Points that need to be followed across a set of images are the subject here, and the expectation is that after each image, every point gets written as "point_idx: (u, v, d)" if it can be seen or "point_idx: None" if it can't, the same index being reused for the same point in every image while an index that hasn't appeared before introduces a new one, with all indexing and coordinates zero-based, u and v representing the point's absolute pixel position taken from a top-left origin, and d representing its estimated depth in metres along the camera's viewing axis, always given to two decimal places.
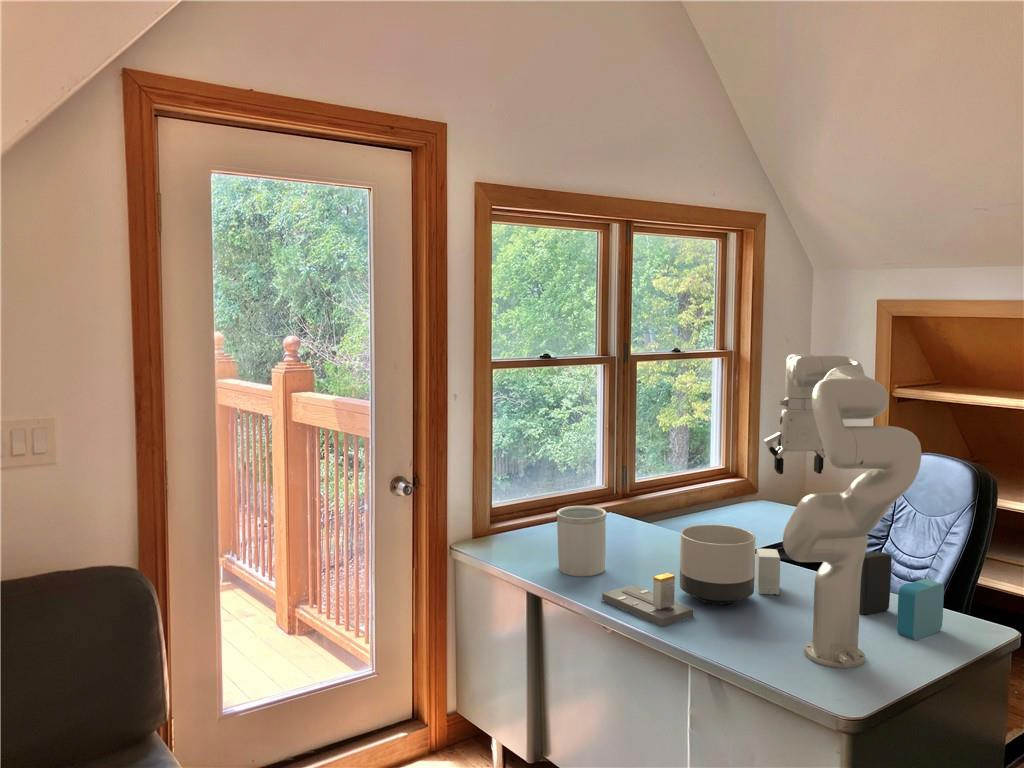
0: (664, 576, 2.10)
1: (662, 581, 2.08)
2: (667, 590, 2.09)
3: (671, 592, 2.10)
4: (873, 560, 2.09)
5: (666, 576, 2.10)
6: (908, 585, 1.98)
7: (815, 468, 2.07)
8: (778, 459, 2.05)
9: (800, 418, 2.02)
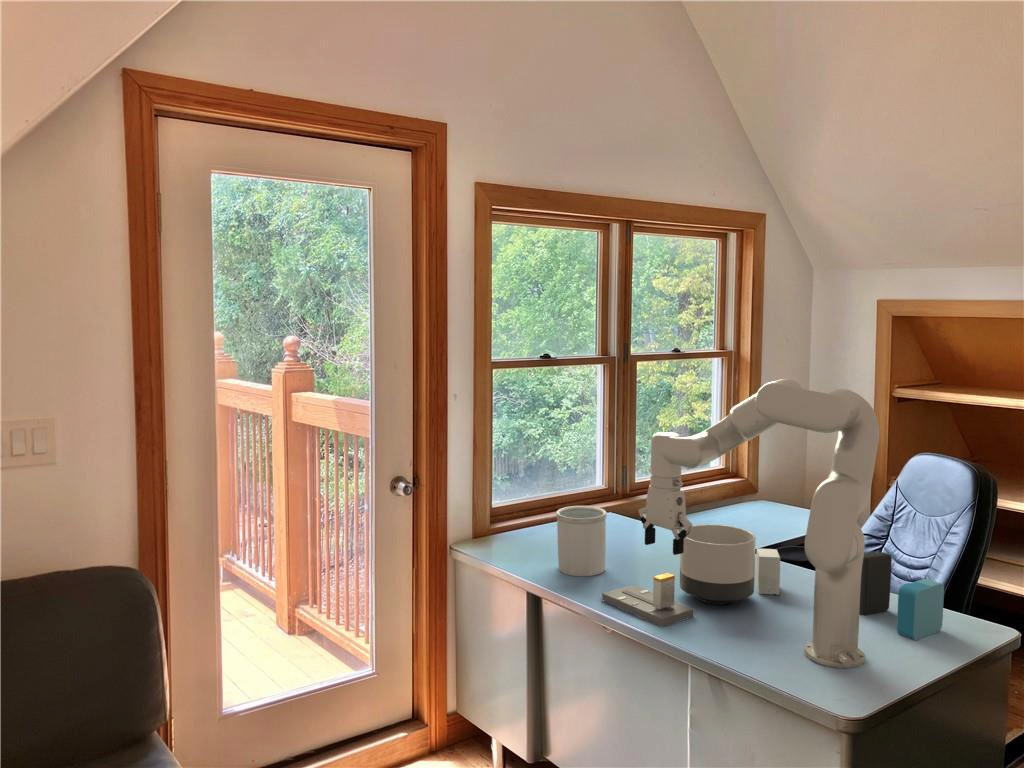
0: (664, 576, 2.10)
1: (662, 581, 2.08)
2: (667, 590, 2.09)
3: (671, 592, 2.10)
4: (873, 560, 2.09)
5: (666, 576, 2.10)
6: (908, 585, 1.98)
7: (649, 541, 2.13)
8: None
9: None
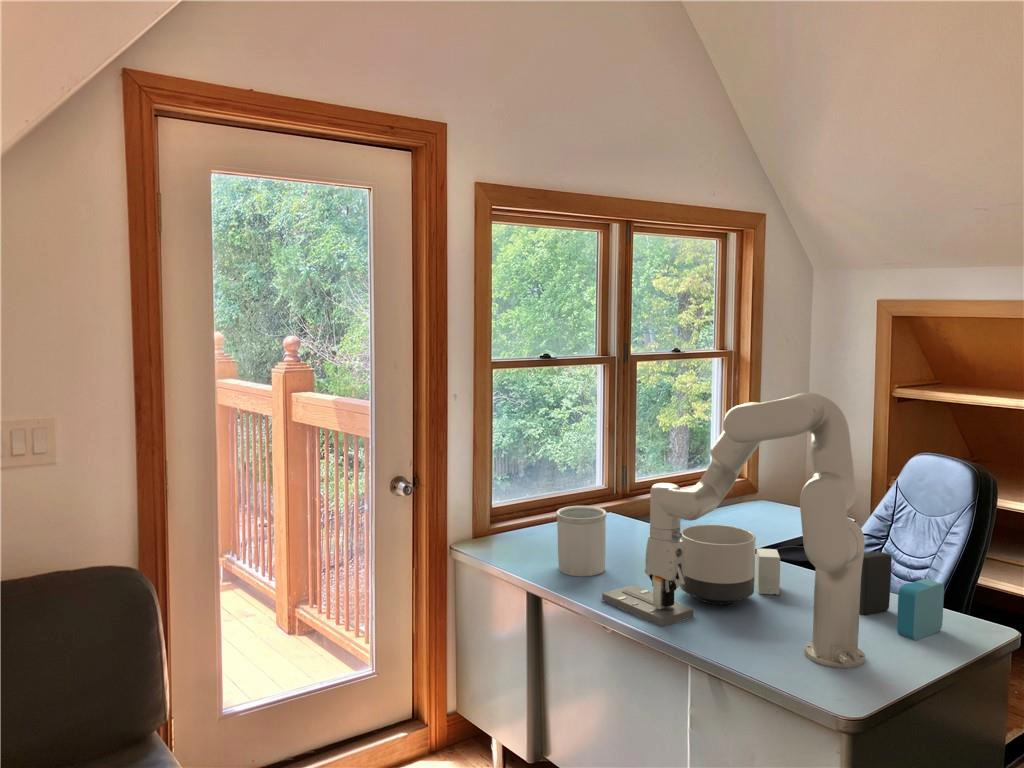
0: None
1: (662, 581, 2.08)
2: None
3: None
4: (873, 560, 2.09)
5: None
6: (908, 585, 1.98)
7: None
8: None
9: None
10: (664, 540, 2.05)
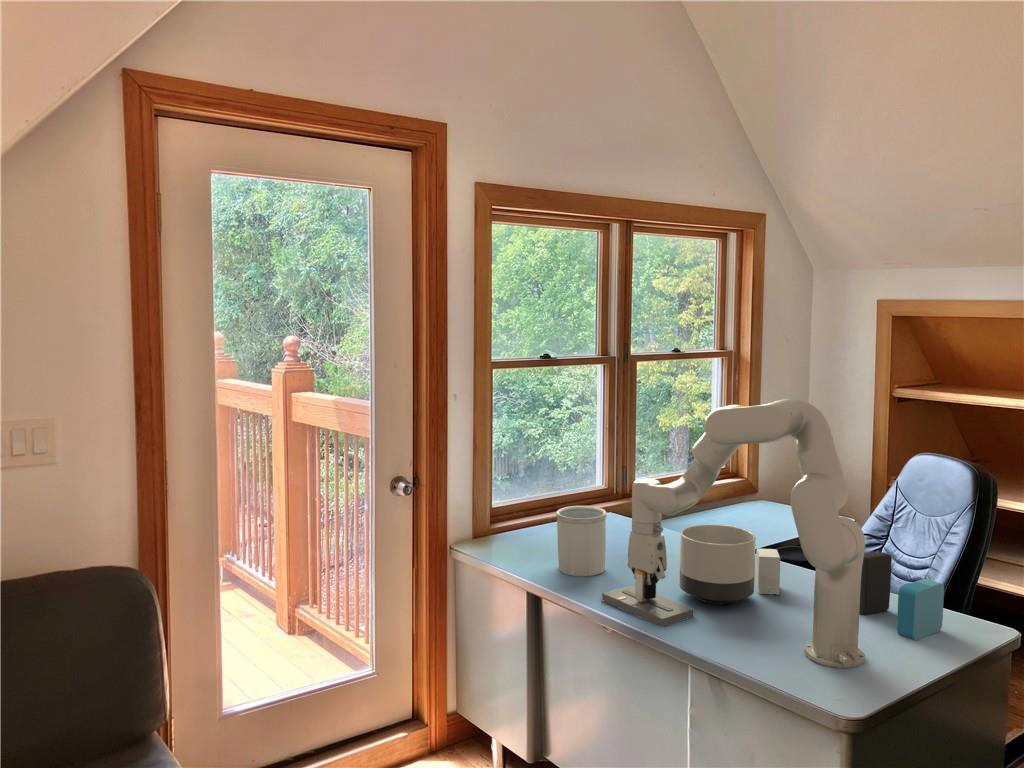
0: None
1: (644, 574, 2.13)
2: None
3: None
4: (873, 560, 2.09)
5: None
6: (908, 585, 1.98)
7: None
8: None
9: None
10: (645, 534, 2.11)
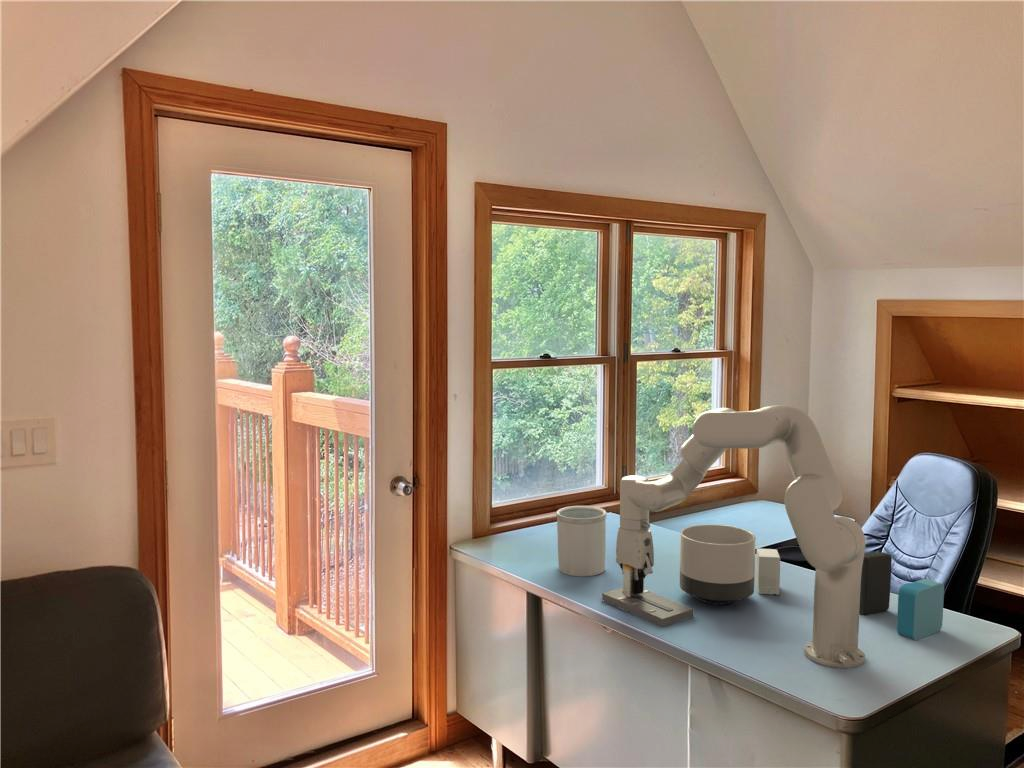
0: None
1: (631, 569, 2.17)
2: None
3: None
4: (873, 560, 2.09)
5: None
6: (908, 585, 1.98)
7: None
8: None
9: None
10: (633, 530, 2.14)
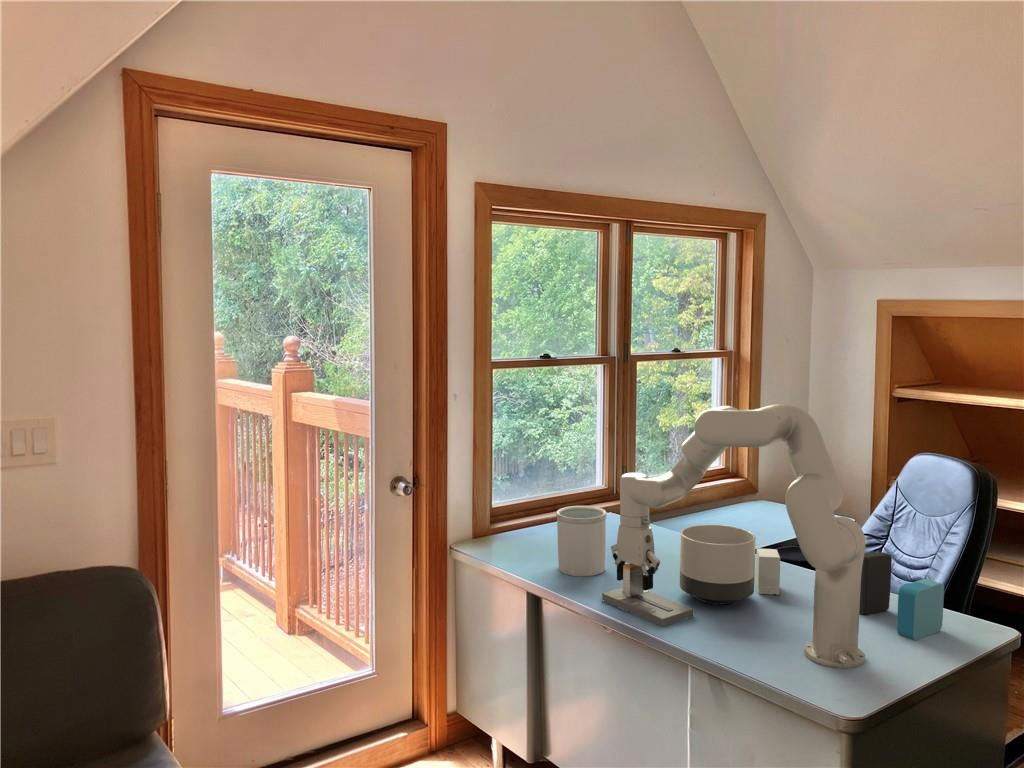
0: (633, 565, 2.19)
1: (631, 569, 2.17)
2: (636, 578, 2.18)
3: (640, 580, 2.19)
4: (873, 560, 2.09)
5: (635, 565, 2.19)
6: (908, 585, 1.98)
7: (621, 576, 2.22)
8: None
9: None
10: (633, 527, 2.14)
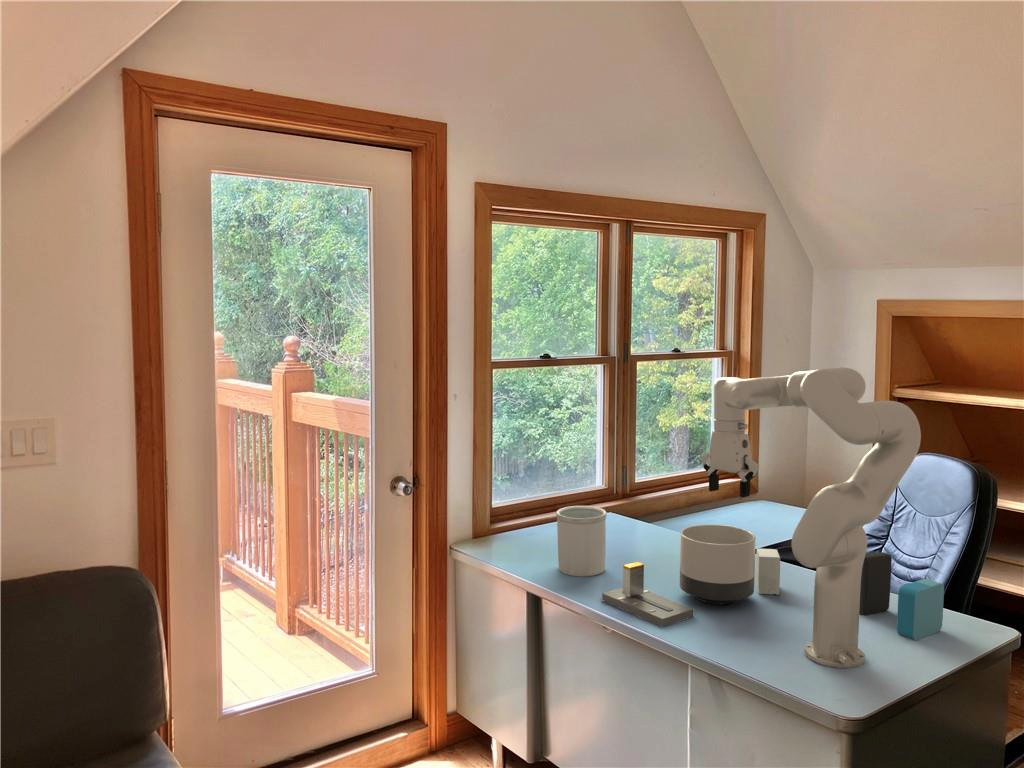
0: (633, 565, 2.19)
1: (631, 569, 2.17)
2: (636, 578, 2.18)
3: (640, 580, 2.19)
4: (873, 560, 2.09)
5: (635, 565, 2.19)
6: (908, 585, 1.98)
7: (713, 487, 2.14)
8: None
9: None
10: (730, 432, 2.06)
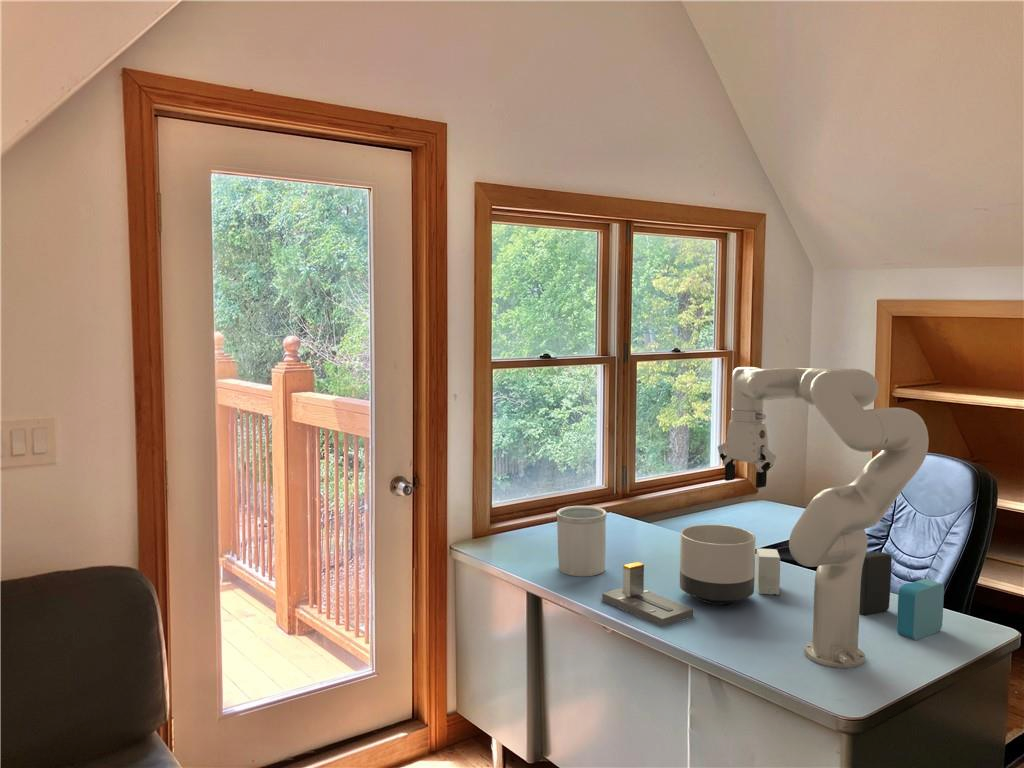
0: (633, 565, 2.19)
1: (631, 569, 2.17)
2: (636, 578, 2.18)
3: (640, 580, 2.19)
4: (873, 560, 2.09)
5: (635, 565, 2.19)
6: (908, 585, 1.98)
7: (730, 476, 2.14)
8: None
9: None
10: (747, 422, 2.05)
